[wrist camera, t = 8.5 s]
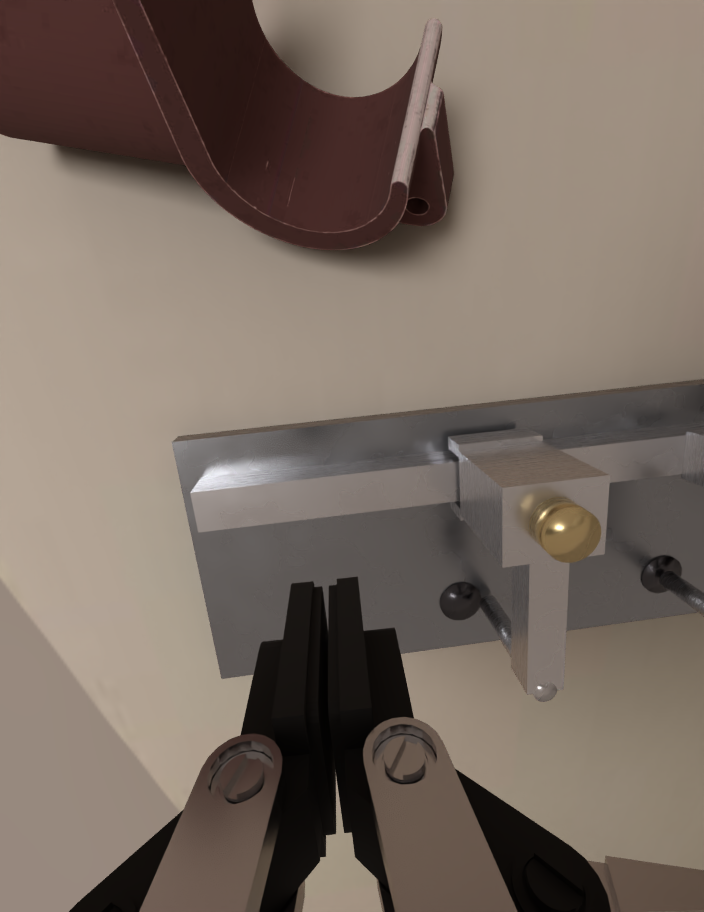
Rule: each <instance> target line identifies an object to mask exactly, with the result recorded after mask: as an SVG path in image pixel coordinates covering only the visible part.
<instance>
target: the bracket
mask: <svg viewBox="0 0 704 912" xmlns="http://www.w3.org/2000/svg"><path fill="white" fill-rule="evenodd" d="M441 37H442V24H441V22H440V21H439V20H438V19H435V18H432V19H430V20H428V21H427V23H426V25H425V29H424V34H423V38H422V43H421V47H420V50H419V53H418V55H417V57H416V59H415V61H414V63H413V65H412V66H411V67H410V69H409V70H408V72H407V73H406V74H405V75H404V76H403V77H402V78H401V79H400V80H399V81H398V82H397V83H395V84H394V85H393V86H391V87H390V88H388V89H386V90H384V91H382V92H380V93H377V94H374V95H370V96H365V97H343V96H338V95H334V94H330V93H327V92H325V91H322V90H320V89H318V88H316V87H314V86H312V85H310V84H309V83H307V82H305V81H304V80H303V79H301V78H300V77H298V76H297V75H296V74H295V73H294V72H293V71H291V70H290V69H289V68H288V67H287V66H286V65H285V64H284V62H283V61H282V60H281V59H280V58H279V57H278V55H277V54H276V53H275V51H274V50H273V48H272V47H271V46H270V44H269V42H268V41H267V39H266V37H265V35H264V33H263V31H262V29H261V27H260V24H259V22H258V19H257V16H256V13H255V10H254V6H253V2H252V0H0V134H2V135H5V136H8V137H11V138H18V139H24V140H30V141H36V142H43V143H49V144H55V145H61V146H68V147H74V148H80V149H86V150H92V151H99V152H105V153H111V154H117V155H124V156H130V157H136V158H142V159H149V160H155V161H161V162H167V163H174V164H180V165H186V167H187V169H188V170H189V172H190V173H191V175H192V176H193V178H194V179H195V180H196V182H197V183H198V184H199V185H200V186H201V188H202V189H203V190H204V191H205V192H206V193H207V194H208V195H209V196H210V197H211V198H212V199H213V200H214V201H215V202H216V203H217V204H219V205H220V206H221V207H222V208H223V209H225V210H226V211H227V212H228V213H230V214H231V215H233V216H234V217H235V218H237V219H238V220H240V221H242V222H243V223H245V224H247V225H248V226H250V227H252V228H254V229H256V230H258V231H260V232H262V233H264V234H266V235H268V236H271V237H273V238H275V239H278V240H281V241H284V242H287V243H290V244H294V245H298V246H302V247H307V248H313V249H321V250H345V249H353V248H358V247H362V246H365V245H368V244H371V243H373V242H375V241H377V240H379V239H381V238H383V237H384V236H386V235H387V234H388V233H389V232H391V231H392V230H393V229H394V228H395V226H396V225H397V224H398V223H402V224H408V225H414V226H427V225H432V224H435V223H437V222H438V221H440V220H441V219H442V218H443V217H444V216H445V214H446V211H447V206H448V201H449V196H450V191H451V186H452V181H453V176H454V168H453V161H452V153H451V146H450V138H449V131H448V123H447V115H446V108H445V100H444V94H443V91H442V89H441V88H440V87H438V86H436V85H434V84H433V78H434V73H435V68H436V64H437V59H438V54H439V49H440V44H441Z"/></svg>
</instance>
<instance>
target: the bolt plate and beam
mask: <svg viewBox="0 0 704 912" xmlns="http://www.w3.org/2000/svg"><path fill="white" fill-rule="evenodd" d="M519 428H528V429H530V430H532V431H534V432H537V433H539V434H541V435H543V442H544V443H546V444H548V445H550V446H552V447H554V448H556V449H558V450H560V451H563V452H565V453H567V454H569V455H571V456H573V457H575V458H577V459H579V460H581V461H583V462H585V463H587V464H589V465H591V466H593V467H595V468H597V469H599V470H601V471H603V472H605V473H607V474H609V475H610V485H609V499H608V513H607V527H606V542H605V554H604V555H596V556H589V557H586V558H584V559H582V560H580V561H577V562H573V563H570V564H569V585H568V607H567V628H566V631H568V630H575V629H582V628H589V627H596V626H603V625H610V624H618V623H625V622H632V621H639V620H646V619H653V618H660V617H668V616H675V615H682V614H689V613H696V612H698V613H700V614H701V615H703V616H704V379H703V380H694V381H684V382H675V383H666V384H657V385H648V386H638V387H629V388H620V389H611V390H602V391H592V392H583V393H574V394H565V395H556V396H546V397H537V398H528V399H519V400H510V401H500V402H491V403H482V404H473V405H464V406H454V407H445V408H436V409H427V410H418V411H408V412H399V413H390V414H381V415H372V416H362V417H353V418H344V419H335V420H325V421H316V422H307V423H298V424H289V425H279V426H270V427H261V428H252V429H243V430H233V431H224V432H215V433H206V434H197V435H187V436H179V437H177V438H176V439H175V440H174V441H173V442H172V446H173V450H174V455H175V460H176V465H177V469H178V474H179V479H180V484H181V488H182V493H183V498H184V503H185V507H186V512H187V517H188V522H189V526H190V531H191V536H192V541H193V545H194V550H195V555H196V560H197V564H198V569H199V574H200V579H201V583H202V588H203V593H204V598H205V602H206V607H207V612H208V617H209V621H210V626H211V631H212V636H213V640H214V645H215V650H216V655H217V659H218V664H219V669H220V674H221V678H222V679H224V678H231V677H239V676H246V675H253V674H254V671H255V666H256V661H257V657H258V652H259V648H260V644H261V643H262V642H263V641H273V640H282V639H283V636H284V629H285V622H286V615H287V608H288V602H289V595H290V588H291V584H292V583H301V582H310V581H313V582H314V586H315V587H319V586H322V588H323V594H324V602H325V610H326V618H327V626H328V606H329V585H337V579H339V578H348V577H358V582H359V591H360V601H361V611H362V620H363V630H364V631H366V630H376V629H385V628H395V630H396V634H397V639H398V644H399V649H400V654H403V653H410V652H417V651H424V650H432V649H439V648H446V647H453V646H460V645H467V644H475V643H482V642H489V641H496V640H500V639H499V637H498V636H497V634H496V632H495V631H494V629H493V627H492V626H491V624H490V622H489V621H488V619H487V617H486V616H485V614H484V612H483V611H482V609H481V607H480V605H479V603H480V600H481V599H482V598H483V597H484V596H486V595H492V596H494V597H495V598H496V599H497V601H498V602H499V604H500V605H501V607H502V608H503V610H504V611H505V612H506V614H507V615H508V617H509V618H510V620H511V618H512V567H504V568H502V567H501V565H500V564H499V563H498V562H497V560H496V559H495V558H494V557H493V555H492V554H491V553H490V551H489V550H488V549H487V548H486V546H485V545H484V544H483V543H482V541H481V540H480V539H479V538H478V536H477V535H476V534H475V533H474V531H473V530H472V529H471V528H470V526H469V525H468V524H467V523H466V521H465V520H462V521H460V519H459V518H458V517H457V515H456V514H455V513H454V511H453V510H452V509H451V508H450V502H455V501H460V480H459V457H458V456H457V455H456V454H454V453H453V452H452V451H451V450H450V449H449V448H448V436H456V435H465V434H474V433H483V432H492V431H501V430H510V429H519Z"/></svg>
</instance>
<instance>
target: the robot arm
mask: <svg viewBox="0 0 704 912" xmlns="http://www.w3.org/2000/svg"><path fill="white" fill-rule="evenodd" d="M335 769H336V771H335ZM336 776H337V784H338V791H339V798H340V805H341V813H342V820H343V827H344V833H350V832H352V837H353V844H354V852H355V857H356V858H357V859H358V860H359V861H360V862H361V863H362V864H363V865H364V866H365V867H366V868H367V869H368V870H369V871H370V872H371V873H372V874H373V875H374V876H375V877H376V878H377V887H378V892H379V897H380V902H381V907H382V911H383V912H704V870H698V869H691V868H685V867H678V866H671V865H664V864H658V863H651V862H644V861H638V860H631V859H624V858H617V857H611V856H605V863H600V862H593V861H587V860H586V859H585V858H584V857H583V856H582V855H580V854H579V853H578V852H577V851H576V850H574V849H573V848H572V847H571V846H569V845H568V844H566V843H565V842H564V841H562V840H561V839H559V838H558V837H556V836H555V835H553V834H552V833H550V832H549V831H547V830H546V829H544V828H543V827H541V826H540V825H538V824H537V823H535V822H534V821H532V820H531V819H529V818H528V817H526V816H525V815H523V814H522V813H520V812H519V811H517V810H516V809H514V808H513V807H511V806H510V805H508V804H507V803H505V802H504V801H502V800H501V799H499V798H498V797H497V796H495V795H494V794H492V793H491V792H489V791H488V790H486V789H485V788H483V787H482V786H480V785H479V784H477V783H476V782H474V781H473V780H471V779H470V778H468V777H467V776H465V775H464V774H462V773H461V772H459V771H458V770H456V769H455V768H454V766H453V763H452V761H451V759H450V757H449V754H448V752H447V750H446V747H445V745H444V743H443V741H442V740H441V738H440V736H439V735H438V733H437V732H436V731H435V730H434V729H433V728H431V727H430V726H429V725H428V724H426V723H424V722H422V721H420V720H418V719H414V717H413V712H412V707H411V702H410V697H409V692H408V688H407V683H406V678H405V673H404V668H403V663H402V658H401V654H400V649H399V644H398V639H397V634H396V630H395V628H385V629H376V630H366V631H364V630H363V620H362V611H361V601H360V591H359V582H358V577H348V578H339V579H337V585H329V606H328V626H327V618H326V610H325V602H324V594H323V588H322V586H319V587H315V586H314V582H313V581H310V582H301V583H292V584H291V588H290V595H289V602H288V608H287V615H286V622H285V629H284V636H283V639H282V640H273V641H263V642H262V643H261V644H260V648H259V652H258V657H257V661H256V666H255V671H254V675H253V680H252V685H251V689H250V694H249V699H248V703H247V708H246V713H245V717H244V722H243V727H242V731H241V735H240V736H237V737H235V738H232V739H230V740H228V741H227V742H225V743H224V744H222V745H221V746H219V747H218V748H217V749H216V750H215V751H214V752H213V753H212V754H211V755H210V756H209V757H208V759H207V760H206V762H205V764H204V765H203V767H202V769H201V771H200V773H199V776H198V778H197V780H196V782H195V785H194V787H193V789H192V792H191V794H190V796H189V799H188V801H187V803H186V805H185V808H184V810H183V811H181V812H180V813H179V814H178V815H177V816H176V817H175V818H174V819H172V820H171V821H170V822H169V823H168V824H167V825H166V826H165V827H163V828H162V829H161V830H160V831H159V832H158V833H157V834H155V835H154V836H153V837H152V838H151V839H150V840H149V841H148V842H146V843H145V844H144V845H143V846H142V847H141V848H139V849H138V850H137V851H136V852H135V853H134V854H133V855H131V856H130V857H129V858H128V859H127V860H126V861H125V862H124V863H122V864H121V865H120V866H119V867H118V868H117V869H116V870H114V871H113V872H112V873H111V874H110V875H109V876H108V877H106V878H105V879H104V880H103V881H102V882H101V883H100V884H98V885H97V886H96V887H95V888H94V889H93V890H92V891H91V892H90V893H88V894H87V895H86V896H85V897H84V898H82V899H81V900H80V901H79V902H78V903H77V904H76V905H75V906H74V907H73V908H72V909H71V910H70V911H69V912H302V909H303V903H304V897H305V879H306V878H307V877H308V875H309V874H310V873H311V872H312V870H313V869H314V868H315V867H316V865H317V864H318V863H319V862H320V857H326V835H332V834H336Z"/></svg>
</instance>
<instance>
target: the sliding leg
mask: <svg viewBox="0 0 704 912" xmlns="http://www.w3.org/2000/svg"><path fill="white" fill-rule="evenodd" d="M448 448H449V449H450V450H451V451H452V452H453V453H454V454H456V455H457V456H458V457H459V480H460V501H455V502H450V508H451V509H452V510H453V511H454V513H455V514H456V515H457V517H458V518H459V519H460V521H462V520H465V521H466V523H467V524H468V525H469V526H470V528H471V529H472V530H473V531H474V533H475V534H476V535H477V536H478V538H479V539H480V540H481V541H482V543H483V544H484V545H485V546H486V548H487V549H488V550H489V551H490V553H491V554H492V555H493V557H494V558H495V559H496V560H497V562H498V563H499V564H500V565H501V567H502V568H504V567H512V618H511V620H510V618H509V617H508V615H507V614H506V612H505V611H504V610H503V608H502V607H501V605H500V604H499V602H498V601H497V599H496V598H495V597H494V596H492V595H486V596H484V597H483V598H482V599H481V600H480V603H479V605H480V607H481V609H482V611H483V612H484V614H485V616H486V617H487V619H488V621H489V622H490V624H491V626H492V627H493V629H494V631H495V632H496V634H497V636H498V637H499V639H500V641H501V642H502V644H503V646H504V647H505V649H506V650H507V652H508V654H509V655H510V657H511V668H512V670H513V672H514V673H515V675H516V677H517V678H518V680H519V682H520V683H521V685H522V687H523V689H524V690H525V692H526V694H527V695H529V694H533V695H534V697H535V698H536V699H537V700H538V701H541V702H545V701H549V700H551V699H552V698H553V697H554V696H555V695H556V692H557V690H563V689H564V671H565V650H566V628H567V607H568V585H569V564H570V563H573V562H577V561H580V560H582V559H584V558H586V557H589V556H596V555H604V554H605V542H606V527H607V513H608V499H609V485H610V475H609V474H607V473H605V472H603V471H601V470H599V469H597V468H595V467H593V466H591V465H589V464H587V463H585V462H583V461H581V460H579V459H577V458H575V457H573V456H571V455H569V454H567V453H565V452H563V451H560V450H558V449H556V448H554V447H552V446H550V445H548V444H546V443H544V442H543V435H541V434H539V433H537V432H534V431H532V430H530V429H528V428H519V429H510V430H501V431H492V432H483V433H474V434H465V435H456V436H448Z"/></svg>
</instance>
